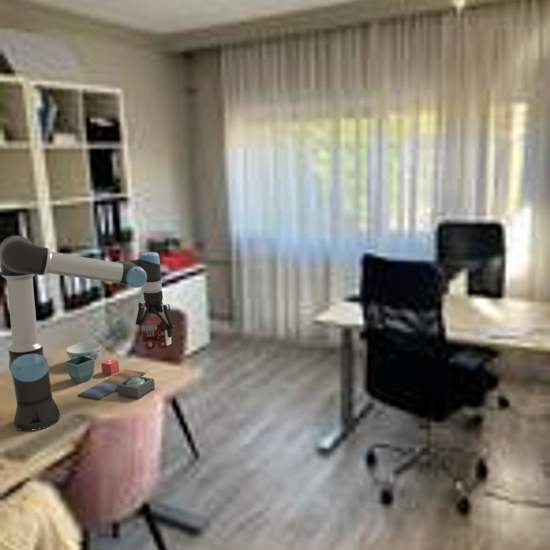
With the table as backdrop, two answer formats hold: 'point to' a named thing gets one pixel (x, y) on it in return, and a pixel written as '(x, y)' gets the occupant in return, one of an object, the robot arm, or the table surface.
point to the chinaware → (84, 350)
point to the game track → (109, 385)
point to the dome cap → (135, 381)
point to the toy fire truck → (153, 335)
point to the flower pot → (80, 368)
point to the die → (110, 367)
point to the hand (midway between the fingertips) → (157, 342)
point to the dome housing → (135, 388)
